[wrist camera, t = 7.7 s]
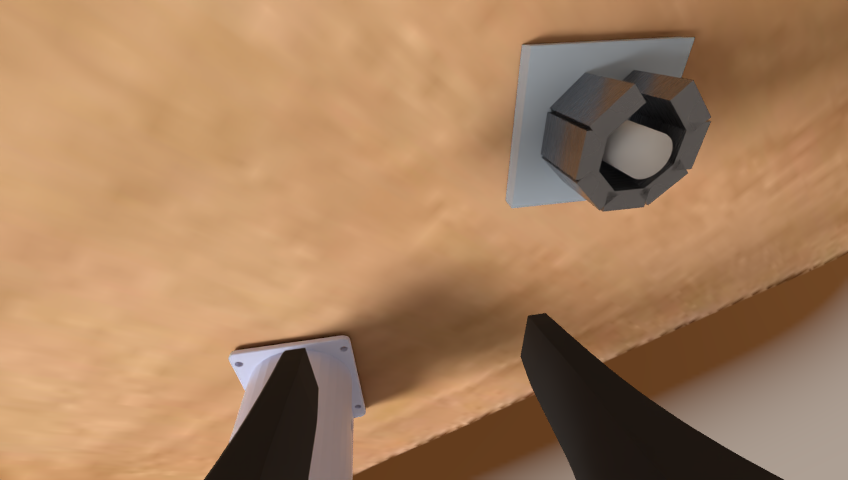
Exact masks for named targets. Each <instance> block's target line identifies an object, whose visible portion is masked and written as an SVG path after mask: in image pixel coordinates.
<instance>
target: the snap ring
mask: <svg viewBox="0 0 848 480" xmlns="http://www.w3.org/2000/svg"><path fill="white" fill-rule="evenodd" d="M550 109H551V111H552V112H547V117H546V123H545V130H544V136H543V142H542V149H541V155H543V156H542V159H543V160H544V161H545V162H546V163H547V164H548V165H549V166H550V168H551V169H552V170H553V171H554V172H555V173H556V174H557V175H558V177H559V178H560V179H561V180H562V181H563V182H564V183H566V184H567V185H568V186H569V187H571V188H572V189H573V190H574V191H576V192H577V193H578V194H579V195H581V196H582V197H583V198H585V199H586V200H587V201H588V202H590V203H591V204H592V205H593V206H595V207H596V208H597V209H598V210H602V211H612V210H621V209H631V208H640V207H644V205H645V204H647V205H649V204H650V203H651V202H653V201H654V200H655V199H656V198H658V197H659V196H660V195H661V194H663V193H664V192H665V191H666V190H668V189H669V188H670V187H671V186H673V185H674V184H675V183H676V182H678V181H679V180H680V179H681V178H683V177H684V176H685V175H686V174H688V172H687V170H686V169H691V168H692V166H693V164H694V161H695V159H696V156H697V154H698V151H699V149H700V147H701V144H702V142H703V139H704V137H705V135H706V132H707V130H708V127H709V125H710V122H711V121H707V120H708V119H709V118H711V116H710V114H709V112H708V109H707V107H706V105H705V103H704V101H703V99H702V97H701V95H700V93H699V91H698V89H697V87H696V85H695V83H694V80H690V79H684V78H678V77H672V76H667V75H661V74H655V73H649V72H644V71H638V70H633V71H632V72H631V73H630V74H629V75H628V76H626V77H625V78H624V79H623V80H622V81H621V80H616V79H612V78H607V77H603V76H598V75H594V74H589V73H584V74H583V75H582V76H581V77H580V78H579V79H578V80H577V81H576V82H575V83H574V84H573V85H572V86H571V87H570V88H569V89H568V90H567V91H566V92H565V93H564V94H563V95H562V96H561V97H560V98H559V99H558V100H557V101H556V102H555V103H554V104H553V105H552V106H551V107H550ZM630 116H631V117H630ZM629 117H630V121H632V122H635V123H637V124H640V125H643V126H646V127H648V128H651V129H654V130H657V131H659V132H662V133H665V134H667V135H668V136H669V137H670V138H671V140H672V152H671V155H670V158H669V160H668V161H667V163H666V164H665V165H664V167H663V168H662V169H661V170H660V171H658V172H657V173H656V174H654V175H652V176H651V177H648V178H645V179H635V178H632V177H631V176H629V175H627V174H625V173H624V172H622V171H620V170H618V169H617V168H615V167H613V166H611V165H610V164H608V163H606V162H604V161H603V160H602V157H603V153H604V150H605V146H606V142H607V138H608V136H609V135H610V134H612V133H613V132H614V131H615V130H616V129H617V128H618V127H619V126H620V125H621V124H623V123H624V122H625V121H626V120H627V119H628V118H629Z"/></svg>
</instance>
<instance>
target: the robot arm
mask: <svg viewBox="0 0 848 480" xmlns="http://www.w3.org/2000/svg"><path fill="white" fill-rule="evenodd" d="M521 359H522V362H523V365H524V368H525V370H526V373H527V376H528V379H529V381H530V384H531V386H532V389H533V391H534V393H535V395H536V397H537V399H538V401H539V403H540V405H541V407H542V409H543V411H544V413H545V415H546V417H547V419H548V421H549V423H550V425H551V427H552V429H553V431H554V433H555V435H556V437H557V439H558V441H559V443H560V445H561V447H562V449H563V451H564V453H565V455H566V457H567V459H568V461H569V463H570V466H571V468H572V470H573V473H574V475H575V478H576V480H784V479H782V478H780V477H778V476H776V475H774V474H772V473H770V472H769V471H767V470H765V469H763V468H761V467H759V466H758V465H756V464H754V463H752V462H750V461H748V460H746V459H745V458H743V457H741V456H739V455H738V454H736V453H734V452H732V451H731V450H729V449H727V448H725V447H724V446H722V445H720V444H719V443H717V442H715V441H714V440H712V439H711V438H709V437H707V436H706V435H704V434H702V433H701V432H699V431H697V430H695V429H694V428H692V427H691V426H689V425H688V424H686V423H684V422H683V421H681V420H680V419H678V418H677V417H675V416H674V415H672V414H671V413H669V412H668V411H666V410H665V409H663V408H662V407H661V406H659V405H658V404H656V403H655V402H653V401H652V400H650V399H649V398H647V397H646V396H645V395H643V394H642V393H640V392H639V391H638V390H636V389H635V388H634V387H633V386H631V385H630V384H628V383H627V382H626V381H625V380H623V379H622V378H621V377H619V376H618V375H617V374H616V373H614V372H613V371H612V370H611V369H609V368H608V367H607V366H606V365H605V364H603V363H602V362H601V361H600V360H599V359H597V358H596V357H595V356H594V355H593V354H591V353H590V352H589V351H588V350H587V349H586V348H584V347H583V346H582V345H581V344H580V343H579V342H577V341H576V340H575V339H574V338H573V337H572V336H571V335H570V334H568V333H567V332H566V331H565V330H564V329H563V328H562V327H561V326H559V325H558V324H557V323H556V322H555V321H554V320H553V319H552V318H550V317H549V316H548V315H547V314H546V313H543V314H536V315H530V316H528V318H527V324H526V329H525V335H524V340H523V346H522V351H521ZM229 361H230V363H231V365H232V367H233V369H234V371H235V373H236V374H237V376H238V378H239V380H240V382H241V384H242V386H243V388H244V389H245V393H244V397H243V400H242V403H241V406H240V409H239V413H238V416H237V419H236V422H235V425H234V428H233V432H232V435H231V438H230V441H229V444H228V446H227V447H226V449H225V450H224V452H223V453H222V455H221V456H220V458H219V459H218V460H217V462H216V463H215V465H214V466H213V468H212V469H211V470H210V472H209V473H208V475H207V476H206V477H205V479H204V480H352V471H353V419H354V418H355V417H361V416H363V415H365V413H366V408H365V404H364V399H363V395H362V390H361V386H360V381H359V377H358V372H357V368H356V363H355V359H354V354H353V350H352V345H351V341H350V338H349V337H348V336H345V335H341V336H334V337H327V338H320V339H313V340H306V341H298V342H291V343H284V344H277V345H270V346H263V347H256V348H249V349H242V350H235V351H232V352H231V353H230V356H229Z"/></svg>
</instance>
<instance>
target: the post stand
mask: <svg viewBox="0 0 848 480" xmlns="http://www.w3.org/2000/svg"><path fill="white" fill-rule="evenodd" d="M694 39H695V37H661V38H642V39H623V40H603V41H584V42H564V43H545V44H526V45H522V50H521V59H520V69H519V78H518V88H517V97H516V107H515V116H514V126H513V135H512V145H511V154H510V164H509V174H508V183H507V193H506V202H507V203H508V204H509V205H510V207H511V208H519V207H528V206H538V205H547V204H556V203H566V202H575V201H585V200H586V199H585V198H583V197H582V196H581V195H579V194H578V193H577V192H576V191H574V190H573V189H572V188H571V187H569V186H568V185H567V184H566V183H564V182H563V181H562V180H561V179H560V178H559V177H558V175H557V174H556V173H555V172H554V171H553V170H552V169H551V168H550V166H549V165H548V164H547V163H546V162H545V161H544V160H543V159H542V156H543V155H541V149H542V142H543V136H544V130H545V123H546V117H547V112H552V111H551V109H550V107H551V106H552V105H553V104H554V103H555V102H556V101H557V100H558V99H559V98H560V97H561V96H562V95H563V94H564V93H565V92H566V91H567V90H568V89H569V88H570V87H571V86H572V85H573V84H574V83H575V82H576V81H577V80H578V79H579V78H580V77H581V76H582V75H583V74H584V73H589V74H594V75H598V76H603V77H607V78H612V79H616V80H621V81H622V80H623V79H624V78H625V77H626V76H628V75H629V74H630V73H631V72H632V71H633V70H638V71H644V72H649V73H655V74H661V75H667V76H672V77H678V78H681V77H682V74H683V71H684V68H685V65H686V63H687V60H688V57H689V54H690V51H691V48H692V45H693V42H694ZM630 117H631V116H630ZM630 117H629V118H628V119H627V120H626V121H625V122H624V123H623V124H621V125H620V126H619V127H618V128H617V129H616V130H615V131H614V132H613V133H612V134H610V135H609V136H608V138H607V142H606V146H605V150H604V153H603V157H602V160H603V161H604V162H606V163H608V164H610V165H611V166H613V167H615V168H617V169H618V170H620V171H622V172H624V173H625V174H627V175H629V176H631V177H632V178H635V179H645V178H648V177H651V176H652V175H654V174H656V173H657V172H658V171H660V170H661V169H662V168H663V167H664V165H665V164H666V163H667V161H668V160H669V158H670V155H671V152H672V140H671V138H670V137H669V136H668V135H667V134H665V133H662V132H659V131H657V130H654V129H651V128H648V127H646V126H643V125H640V124H637V123H635V122H632V121H630Z"/></svg>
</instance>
